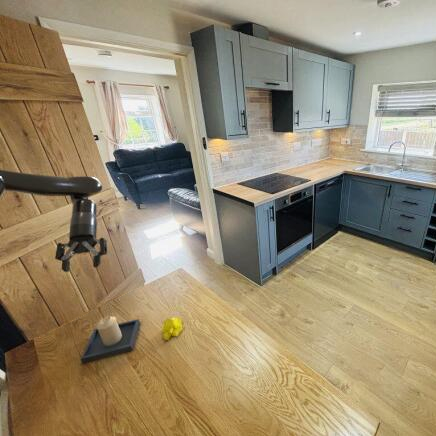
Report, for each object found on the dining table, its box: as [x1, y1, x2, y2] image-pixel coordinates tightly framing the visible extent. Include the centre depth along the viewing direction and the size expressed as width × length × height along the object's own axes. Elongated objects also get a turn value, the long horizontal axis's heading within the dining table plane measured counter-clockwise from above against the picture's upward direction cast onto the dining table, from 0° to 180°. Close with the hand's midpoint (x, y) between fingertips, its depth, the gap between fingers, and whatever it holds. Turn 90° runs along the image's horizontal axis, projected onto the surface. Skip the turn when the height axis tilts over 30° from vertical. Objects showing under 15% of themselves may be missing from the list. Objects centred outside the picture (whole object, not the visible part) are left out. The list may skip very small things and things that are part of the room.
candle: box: [96, 316, 122, 346], centre depth 85 cm, size 6×6×10 cm
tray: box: [80, 318, 141, 364], centre depth 86 cm, size 15×13×2 cm
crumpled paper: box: [160, 317, 184, 341], centre depth 90 cm, size 6×8×8 cm
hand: (81, 269), depth 83 cm, fingers open, 8 cm apart
